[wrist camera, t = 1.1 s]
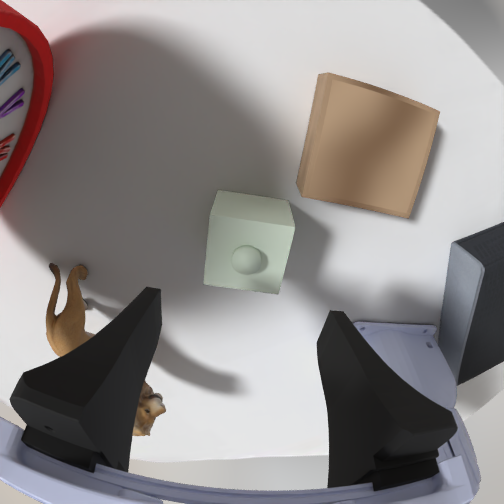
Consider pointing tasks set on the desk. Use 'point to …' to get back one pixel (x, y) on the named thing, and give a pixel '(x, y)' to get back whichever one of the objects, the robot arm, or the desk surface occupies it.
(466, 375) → the external hard drive
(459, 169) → the desk surface
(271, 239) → the sage brick
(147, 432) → the lion figurine
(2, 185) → the toy clock
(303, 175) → the base brick
